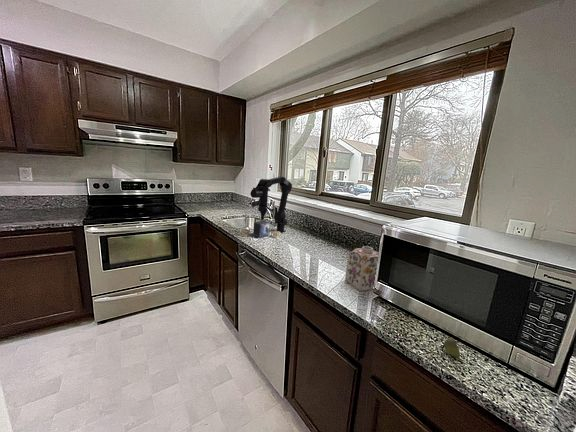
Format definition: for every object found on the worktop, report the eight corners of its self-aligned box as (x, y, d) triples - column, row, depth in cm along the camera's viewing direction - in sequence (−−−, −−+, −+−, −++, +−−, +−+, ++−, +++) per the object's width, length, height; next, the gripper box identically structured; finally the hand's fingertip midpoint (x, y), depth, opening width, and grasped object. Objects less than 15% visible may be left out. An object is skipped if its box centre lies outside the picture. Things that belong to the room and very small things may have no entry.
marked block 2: (275, 236, 182) (275, 230, 181) (279, 237, 180) (280, 231, 179) (272, 237, 178) (272, 231, 177) (276, 238, 176) (277, 232, 175)
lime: (448, 347, 76) (451, 333, 75) (464, 359, 71) (468, 343, 70) (438, 350, 74) (441, 336, 73) (454, 362, 69) (458, 347, 68)
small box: (259, 238, 172) (260, 224, 170) (252, 236, 175) (253, 222, 173) (269, 236, 180) (270, 222, 178) (262, 234, 184) (263, 220, 182)
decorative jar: (380, 289, 111) (387, 251, 107) (359, 291, 106) (365, 252, 103) (364, 277, 122) (369, 243, 118) (344, 279, 117) (349, 243, 114)
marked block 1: (245, 234, 179) (245, 229, 178) (249, 235, 177) (250, 230, 176) (241, 235, 176) (242, 229, 175) (246, 236, 174) (246, 231, 173)
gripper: (252, 195, 180) (251, 215, 183) (251, 198, 162) (250, 221, 165) (267, 196, 182) (266, 216, 185) (268, 199, 163) (266, 222, 166)
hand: (262, 218), depth 175 cm, fingers closed
